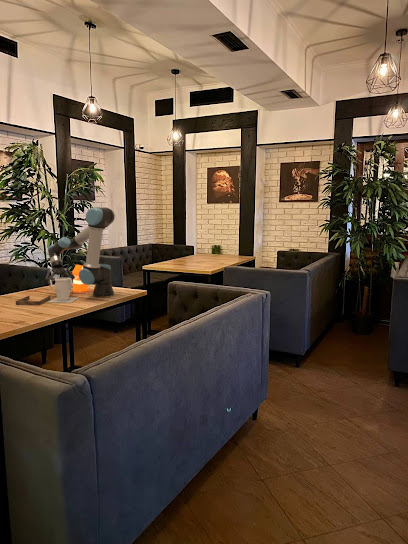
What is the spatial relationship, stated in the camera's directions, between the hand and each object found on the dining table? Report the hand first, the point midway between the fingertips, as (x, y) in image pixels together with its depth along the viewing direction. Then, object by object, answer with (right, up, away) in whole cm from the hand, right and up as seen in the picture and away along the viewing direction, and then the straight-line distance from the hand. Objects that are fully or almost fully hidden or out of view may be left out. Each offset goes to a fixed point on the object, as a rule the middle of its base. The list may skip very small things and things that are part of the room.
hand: (62, 287), depth 278 cm
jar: (+1, -9, 0) cm, 9 cm away
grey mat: (+1, -9, 0) cm, 9 cm away
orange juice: (+2, -4, +36) cm, 36 cm away
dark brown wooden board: (-17, -10, -6) cm, 21 cm away
